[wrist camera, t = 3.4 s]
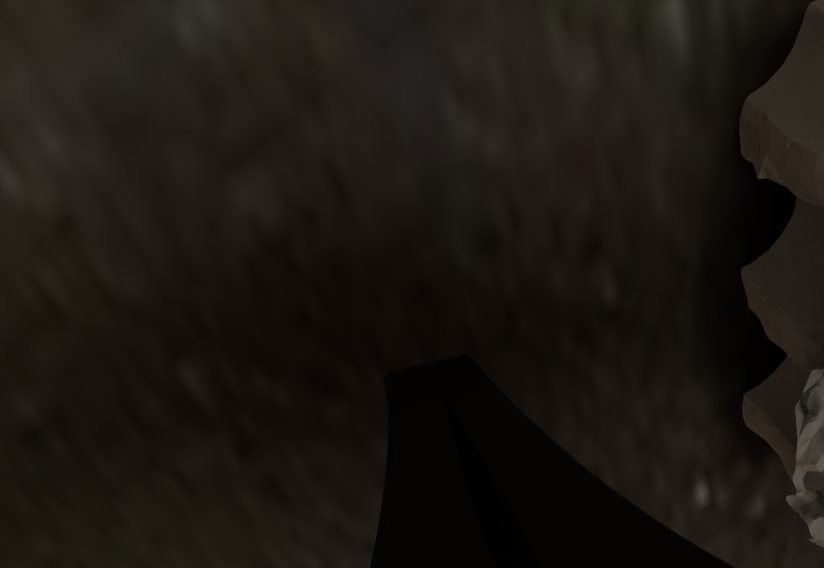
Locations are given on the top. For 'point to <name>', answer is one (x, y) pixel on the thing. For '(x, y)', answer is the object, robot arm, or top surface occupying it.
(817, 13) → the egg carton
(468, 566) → the robot arm
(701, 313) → the top surface
